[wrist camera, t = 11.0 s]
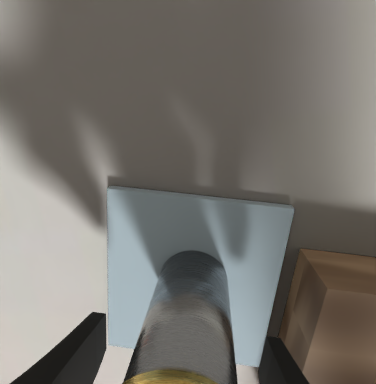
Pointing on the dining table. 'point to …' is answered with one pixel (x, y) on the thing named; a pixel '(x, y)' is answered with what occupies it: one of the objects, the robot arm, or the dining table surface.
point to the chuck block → (332, 317)
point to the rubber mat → (199, 241)
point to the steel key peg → (186, 326)
